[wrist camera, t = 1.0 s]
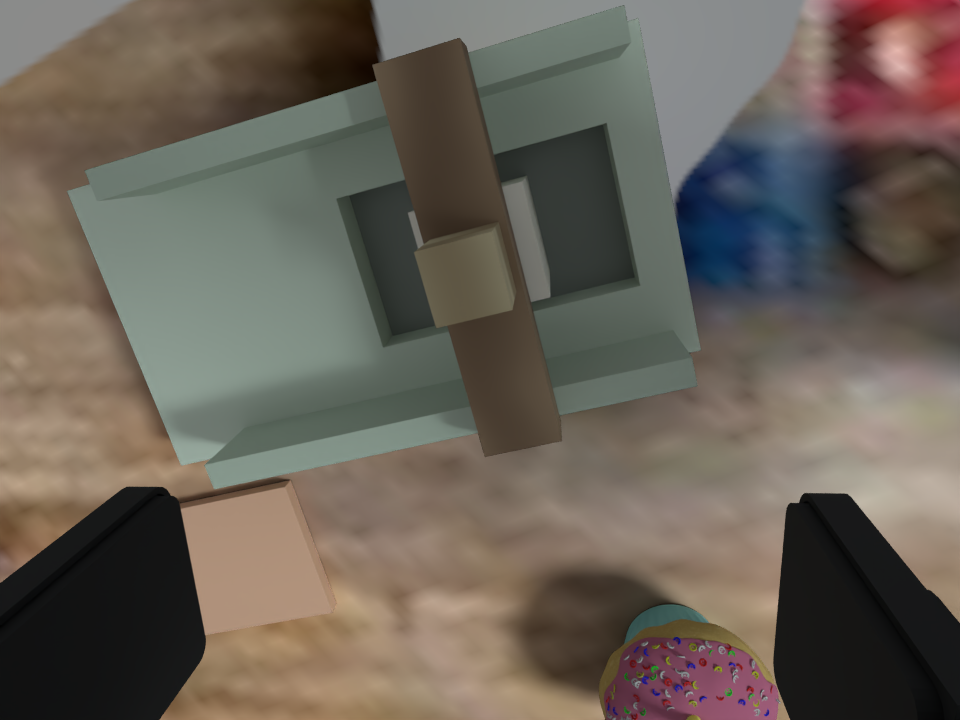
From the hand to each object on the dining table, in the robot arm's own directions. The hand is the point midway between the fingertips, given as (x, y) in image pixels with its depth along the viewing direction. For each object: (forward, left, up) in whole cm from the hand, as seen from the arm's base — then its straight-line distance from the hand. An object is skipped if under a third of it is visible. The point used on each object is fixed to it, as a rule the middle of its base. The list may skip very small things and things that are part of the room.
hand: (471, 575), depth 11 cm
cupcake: (-3, +21, -24) cm, 32 cm away
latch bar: (+1, -3, -17) cm, 17 cm away
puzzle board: (+6, -3, -24) cm, 25 cm away
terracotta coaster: (+19, +11, -24) cm, 32 cm away
